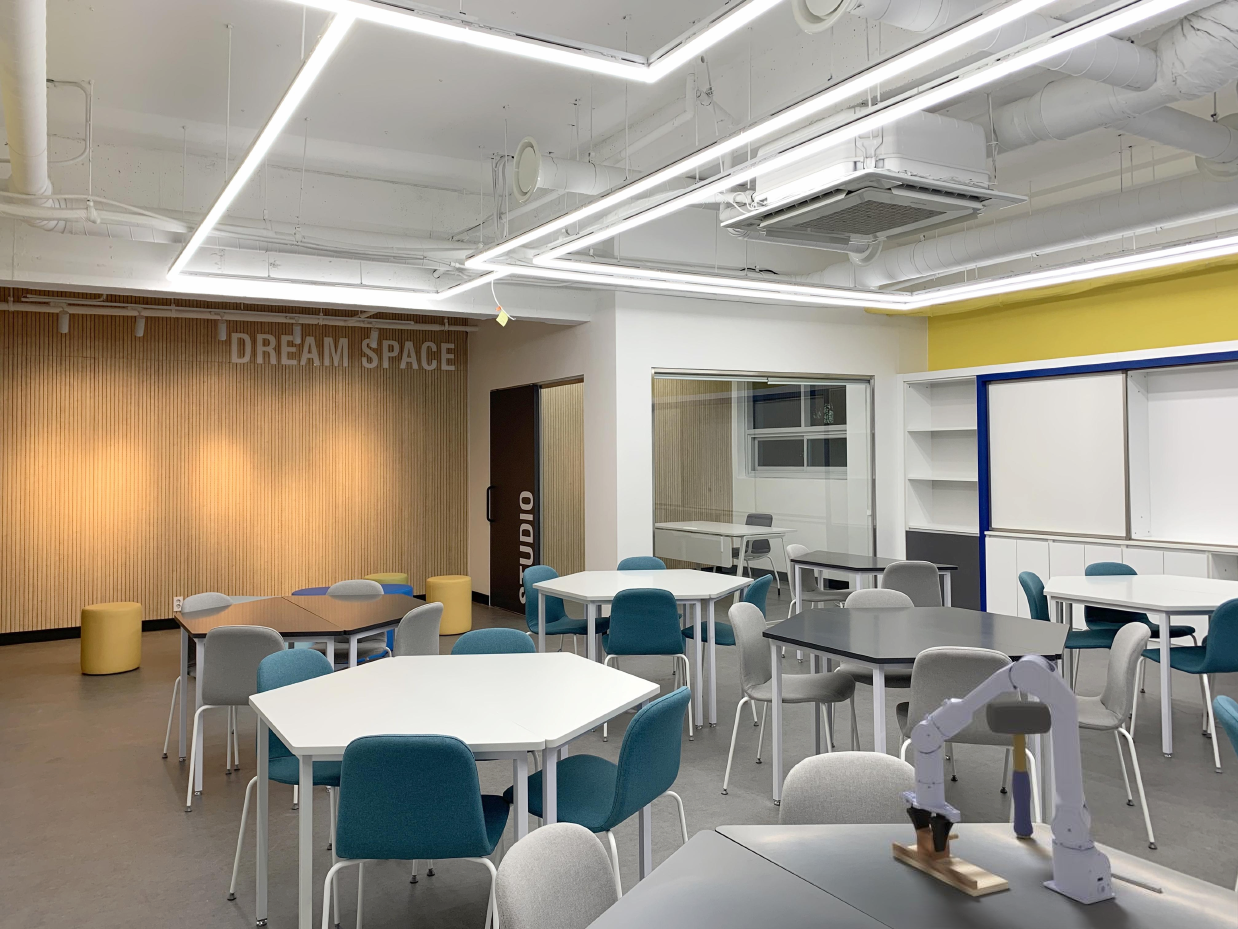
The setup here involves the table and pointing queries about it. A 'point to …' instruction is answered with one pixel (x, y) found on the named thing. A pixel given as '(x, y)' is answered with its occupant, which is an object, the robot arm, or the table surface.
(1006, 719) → the rubber mallet
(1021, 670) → the robot arm
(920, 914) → the table surface
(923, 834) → the brown wooden block
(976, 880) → the board
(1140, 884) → the pale grey thin rod
